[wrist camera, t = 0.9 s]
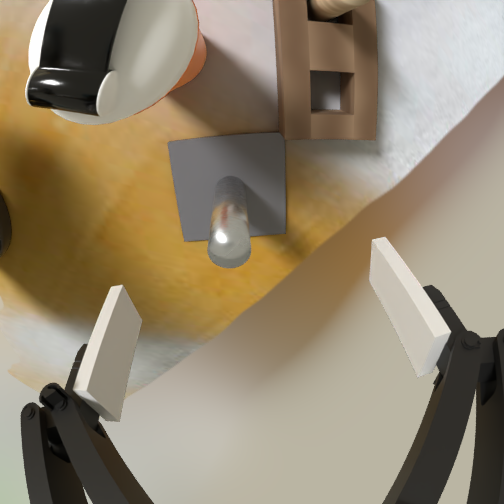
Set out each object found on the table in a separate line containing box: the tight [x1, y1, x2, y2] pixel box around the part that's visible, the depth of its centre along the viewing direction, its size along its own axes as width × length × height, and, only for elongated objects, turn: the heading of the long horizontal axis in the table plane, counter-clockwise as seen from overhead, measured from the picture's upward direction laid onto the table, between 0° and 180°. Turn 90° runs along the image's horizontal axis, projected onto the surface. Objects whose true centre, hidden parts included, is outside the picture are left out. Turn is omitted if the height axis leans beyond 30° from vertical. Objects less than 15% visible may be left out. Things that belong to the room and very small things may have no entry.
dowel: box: [306, 0, 370, 22], centre depth 18 cm, size 3×3×10 cm
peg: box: [208, 176, 251, 268], centre depth 27 cm, size 3×3×12 cm
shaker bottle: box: [25, 0, 207, 125], centre depth 16 cm, size 9×9×20 cm
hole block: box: [273, 0, 378, 140], centre depth 23 cm, size 9×18×4 cm, turn 3°
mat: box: [168, 132, 286, 242], centre depth 32 cm, size 12×12×1 cm
